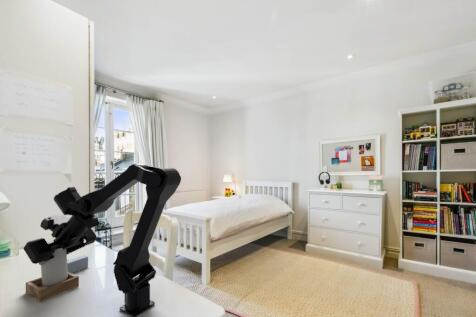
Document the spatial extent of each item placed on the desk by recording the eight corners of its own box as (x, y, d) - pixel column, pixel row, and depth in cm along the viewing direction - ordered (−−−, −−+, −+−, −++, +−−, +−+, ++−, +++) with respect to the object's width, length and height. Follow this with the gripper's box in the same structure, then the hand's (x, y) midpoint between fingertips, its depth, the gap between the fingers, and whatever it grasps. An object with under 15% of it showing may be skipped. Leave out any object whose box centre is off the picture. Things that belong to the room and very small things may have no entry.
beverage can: (41, 290, 70) (38, 250, 69) (43, 281, 75) (40, 243, 74) (67, 283, 73) (65, 244, 73) (67, 274, 78) (65, 238, 78)
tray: (78, 286, 75) (78, 276, 75) (40, 302, 67) (40, 291, 67) (63, 278, 80) (63, 269, 80) (25, 292, 72) (25, 282, 72)
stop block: (88, 267, 89) (88, 256, 89) (63, 276, 82) (63, 264, 82) (83, 265, 91) (83, 255, 91) (59, 274, 84) (59, 262, 84)
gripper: (89, 201, 82) (66, 232, 85) (28, 212, 64) (1, 250, 67) (108, 226, 79) (83, 256, 82) (49, 244, 61) (20, 282, 64)
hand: (50, 259), depth 74 cm, fingers closed on beverage can, 6 cm apart
